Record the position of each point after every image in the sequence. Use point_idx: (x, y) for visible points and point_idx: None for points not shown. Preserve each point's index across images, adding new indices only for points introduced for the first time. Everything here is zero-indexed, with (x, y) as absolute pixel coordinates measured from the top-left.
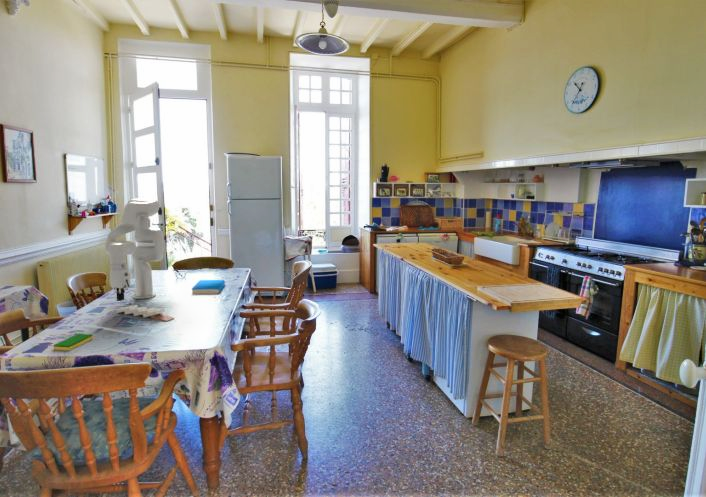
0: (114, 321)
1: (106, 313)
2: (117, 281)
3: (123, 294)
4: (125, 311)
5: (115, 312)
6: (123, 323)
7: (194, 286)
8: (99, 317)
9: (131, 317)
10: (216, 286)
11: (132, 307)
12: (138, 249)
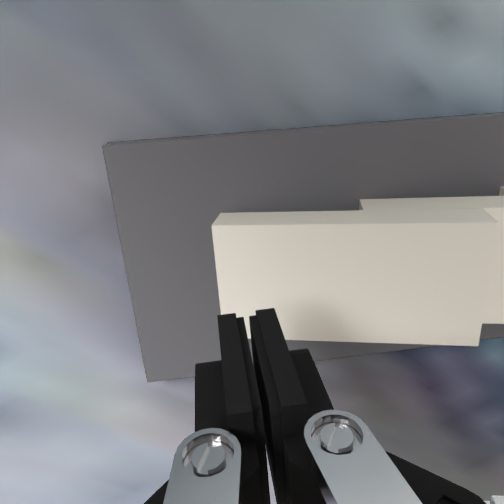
0: (383, 414)
1: (148, 377)
2: None
3: (327, 403)
4: None
5: (196, 312)
6: (491, 404)
7: None
8: (159, 425)
9: (492, 326)
10: None
11: (479, 297)
12: None
